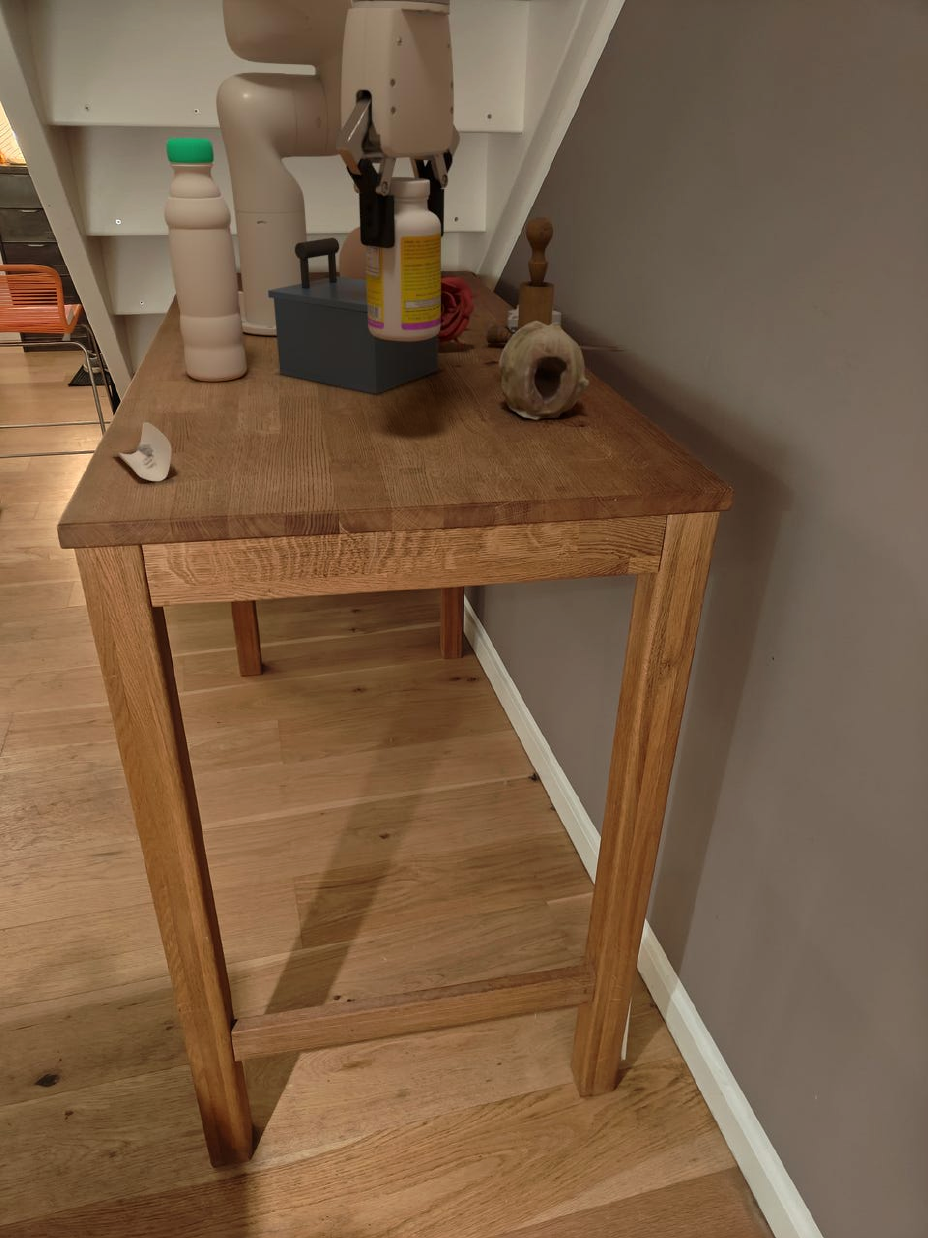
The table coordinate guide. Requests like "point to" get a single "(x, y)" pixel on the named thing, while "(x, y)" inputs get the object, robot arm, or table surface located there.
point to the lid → (324, 281)
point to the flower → (454, 308)
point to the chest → (346, 349)
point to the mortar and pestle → (537, 277)
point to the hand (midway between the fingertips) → (403, 239)
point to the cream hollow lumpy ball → (542, 371)
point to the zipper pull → (513, 319)
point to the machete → (503, 335)
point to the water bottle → (203, 265)
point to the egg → (353, 257)
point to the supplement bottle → (406, 269)
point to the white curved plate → (150, 454)
